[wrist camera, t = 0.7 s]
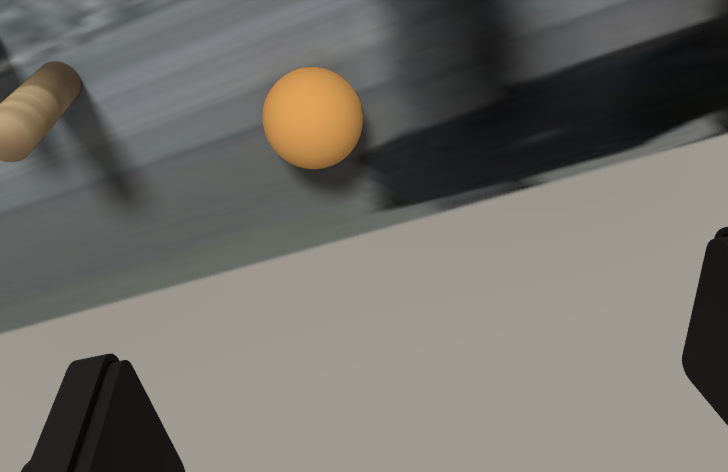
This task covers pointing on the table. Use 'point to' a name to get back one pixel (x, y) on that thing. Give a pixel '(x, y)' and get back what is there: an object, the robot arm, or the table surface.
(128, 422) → the robot arm
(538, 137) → the table surface
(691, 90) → the table surface
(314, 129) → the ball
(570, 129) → the table surface
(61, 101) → the maple pin
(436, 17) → the table surface
